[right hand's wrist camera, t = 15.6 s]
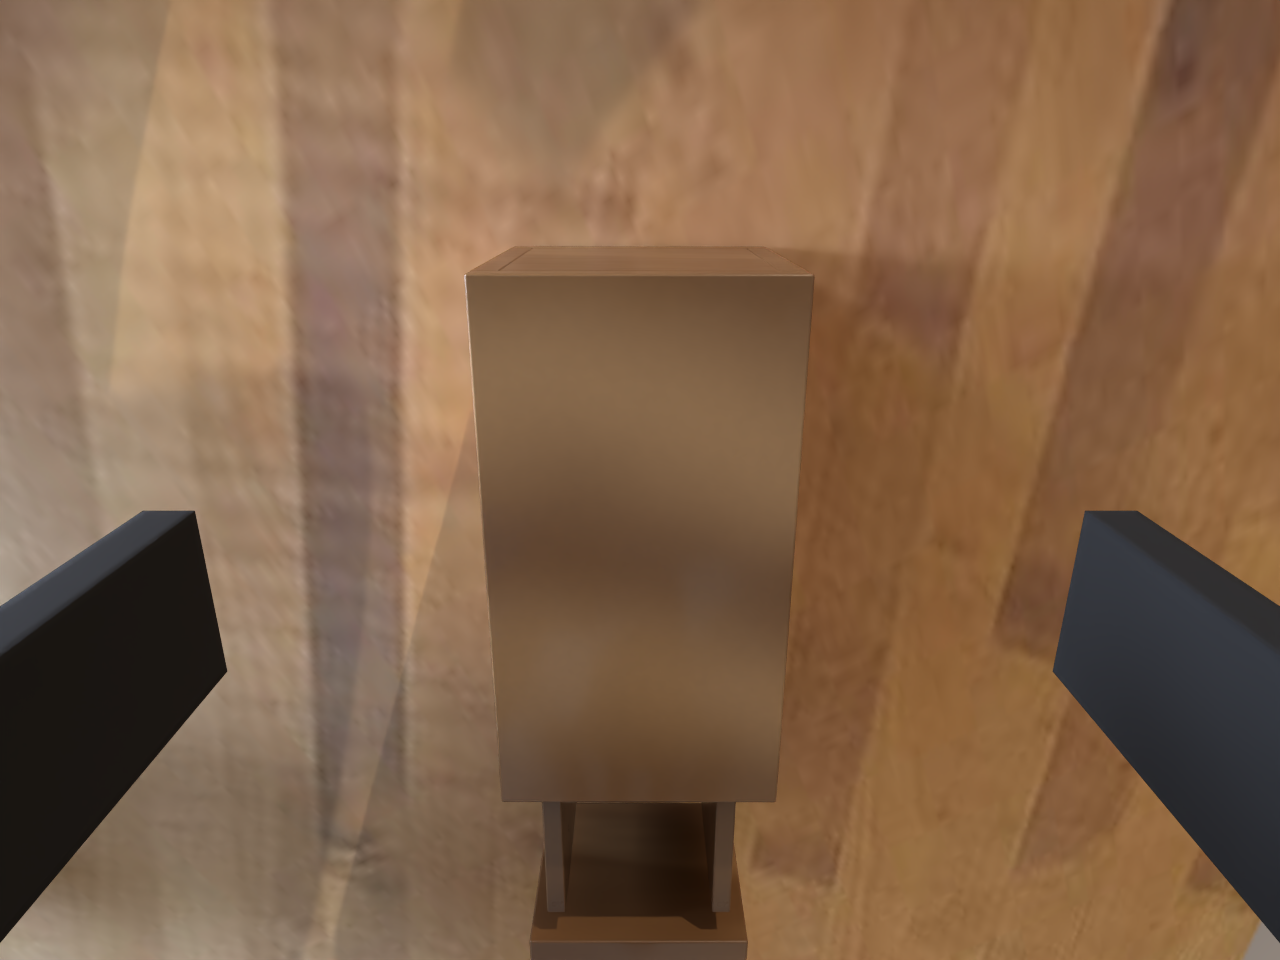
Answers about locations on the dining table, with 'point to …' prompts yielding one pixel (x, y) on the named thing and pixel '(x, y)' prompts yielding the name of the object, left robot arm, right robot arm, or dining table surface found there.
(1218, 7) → the dining table surface
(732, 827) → the drawer
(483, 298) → the cabinet
